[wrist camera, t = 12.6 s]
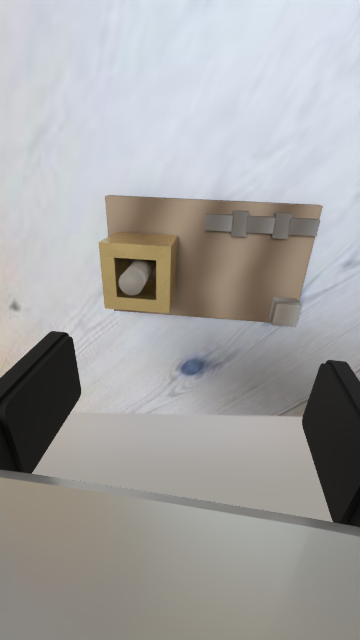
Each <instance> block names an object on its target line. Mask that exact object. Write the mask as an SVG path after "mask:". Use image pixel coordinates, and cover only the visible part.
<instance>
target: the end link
mask: <svg viewBox="0 0 360 640" xmlns="http://www.w3.org/2000/svg"><path fill="white" fill-rule="evenodd" d="M99 249H100V260H101V271H102V282H103V293H104V304H105V308H109V309H121V310H134V311H147V312H160V313H170V309H171V306H172V303H173V300H174V296H175V293H176V264H177V235H164V234H147V233H130V232H115V233H114V234H112V235H110V236H109V237H107V238H105V239H104V240H102V241H100V242H99ZM130 259H143V260H156V281H150V280H147V282H146V284H145V285H144V287H143V288H142V290H141V292H140V293H138V294H136V295H128V294H126V293H124V292H123V291H122V290H121V289H120V287H119V278H120V276H121V275H122V274H123V273H124V272H125V271H126V270H127V268H128V267H129V266H130Z"/></svg>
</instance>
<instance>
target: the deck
mask: <svg viewBox="0 0 360 640" xmlns="http://www.w3.org/2000/svg"><path fill="white" fill-rule="evenodd" d="M105 201H106V214H107V226H108V237H109V236H110V235H112V234H114V233H115V232H130V233H147V234H164V235H177V264H176V293H175V296H174V300H173V303H172V306H171V309H170V313H160V312H147V311H134V310H121V309H114V311H128V312H141V313H154V314H167V315H181V316H194V317H207V318H220V319H234V320H247V321H260V322H271V323H272V325H279V326H292V327H296V325H297V321H298V317H299V314H300V310H301V306H302V305H301V304H300V303H299V299H300V295H301V291H302V287H303V283H304V279H305V275H306V271H307V267H308V263H309V259H310V255H311V251H312V247H313V243H314V239H315V236H316V235H317V231H318V227H319V223H320V220H319V219H320V215H321V211H322V207H323V206H321V205H311V204H289V203H268V202H246V201H224V200H202V199H181V198H159V197H137V196H115V195H108V196H105ZM147 280H150V281H156V260H143V259H130V266H129V267H128V268H127V270H126V271H125V272H124V273H123V274H122V275H121V276H120V278H119V287H120V289H121V290H122V291H123V292H124V293H126V294H128V295H136V294H138V293H140V292H141V290H142V288H143V287H144V285H145V284H146V282H147Z"/></svg>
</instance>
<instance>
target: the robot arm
mask: <svg viewBox="0 0 360 640" xmlns="http://www.w3.org/2000/svg"><path fill="white" fill-rule="evenodd" d="M80 395H81V386H80V380H79V374H78V368H77V362H76V356H75V349H74V343H73V339H72V337H69V335H68V333H65V332H56V331H51V332H50V333H48V334H47V335H46V336H45V337H44V338H43V339H42V340H41V341H40V342H39V343H38V344H37V345H36V346H34V347H33V348H32V349H31V350H30V351H29V352H28V353H27V354H26V355H25V356H24V357H23V358H21V359H20V360H19V361H18V362H17V363H16V364H15V365H14V366H13V367H12V368H11V369H10V370H9V371H7V372H6V373H5V374H4V375H3V376H2V377H1V378H0V640H360V381H359V380H358V378H357V377H356V375H355V374H354V372H353V371H352V369H351V368H350V366H349V365H348V363H347V362H343V361H333V360H328V361H327V362H326V363H325V364H321V365H320V367H319V370H318V373H317V376H316V379H315V382H314V385H313V388H312V391H311V394H310V397H309V400H308V403H307V406H306V409H305V412H304V415H303V419H302V425H303V429H304V433H305V436H306V439H307V442H308V445H309V448H310V452H311V454H312V458H313V461H314V464H315V467H316V470H317V474H318V477H319V480H320V483H321V486H322V489H323V493H324V496H325V499H326V502H327V505H328V508H329V512H330V515H331V518H332V520H333V522H328V521H322V520H317V519H312V518H306V517H300V516H295V515H289V514H283V513H276V512H270V511H264V510H258V509H252V508H246V507H240V506H233V505H228V504H221V503H216V502H210V501H202V500H197V499H191V498H184V497H178V496H172V495H165V494H159V493H152V492H147V491H140V490H133V489H128V488H121V487H115V486H108V485H101V484H95V483H89V482H81V481H76V480H69V479H62V478H55V477H48V476H42V475H36V474H31V473H32V472H33V471H34V469H35V468H36V466H37V464H38V463H39V461H40V460H41V458H42V456H43V455H44V453H45V452H46V450H47V449H48V447H49V445H50V444H51V442H52V441H53V439H54V438H55V436H56V434H57V433H58V431H59V430H60V428H61V426H62V425H63V423H64V422H65V420H66V418H67V417H68V415H69V414H70V412H71V411H72V409H73V408H74V406H75V404H76V403H77V401H78V400H79V398H80Z"/></svg>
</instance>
